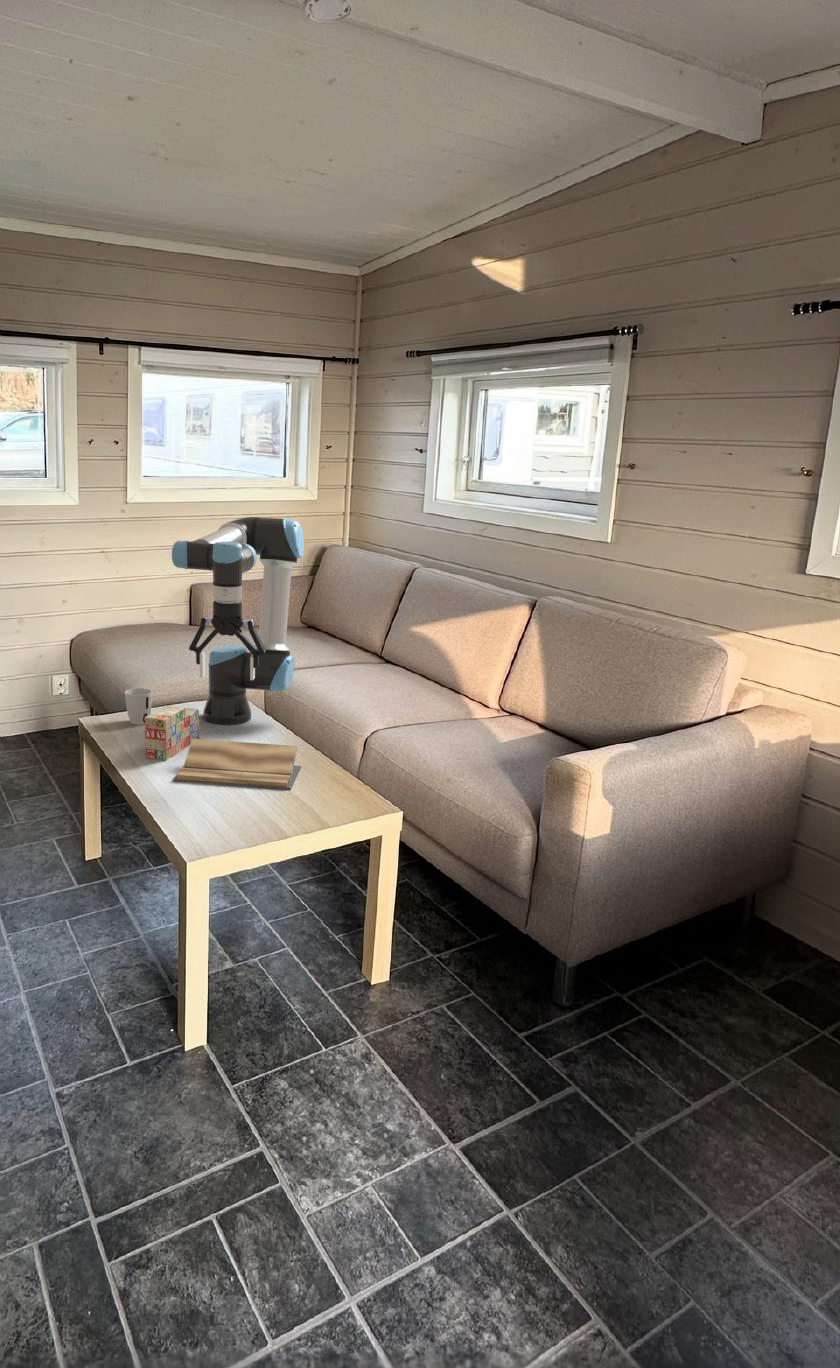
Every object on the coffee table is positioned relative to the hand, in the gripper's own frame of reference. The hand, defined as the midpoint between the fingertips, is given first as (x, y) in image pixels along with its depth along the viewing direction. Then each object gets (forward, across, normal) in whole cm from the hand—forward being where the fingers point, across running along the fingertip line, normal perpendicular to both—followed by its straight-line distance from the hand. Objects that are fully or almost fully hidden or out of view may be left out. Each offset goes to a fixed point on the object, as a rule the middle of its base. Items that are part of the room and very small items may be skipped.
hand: (227, 677), depth 247 cm
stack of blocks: (+25, -18, +9) cm, 32 cm away
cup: (+25, -34, +30) cm, 52 cm away
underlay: (+24, +5, -9) cm, 26 cm away
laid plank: (+24, +5, -14) cm, 28 cm away
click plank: (+21, +5, -6) cm, 22 cm away
